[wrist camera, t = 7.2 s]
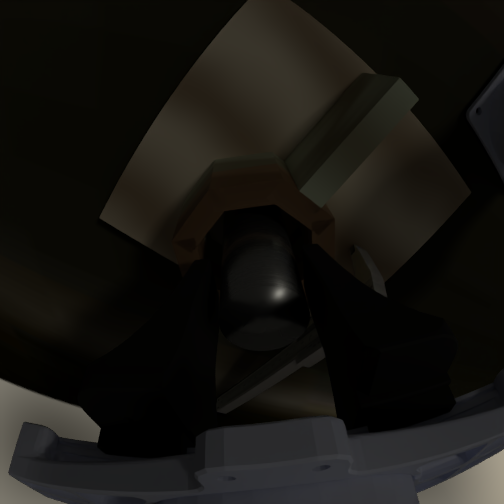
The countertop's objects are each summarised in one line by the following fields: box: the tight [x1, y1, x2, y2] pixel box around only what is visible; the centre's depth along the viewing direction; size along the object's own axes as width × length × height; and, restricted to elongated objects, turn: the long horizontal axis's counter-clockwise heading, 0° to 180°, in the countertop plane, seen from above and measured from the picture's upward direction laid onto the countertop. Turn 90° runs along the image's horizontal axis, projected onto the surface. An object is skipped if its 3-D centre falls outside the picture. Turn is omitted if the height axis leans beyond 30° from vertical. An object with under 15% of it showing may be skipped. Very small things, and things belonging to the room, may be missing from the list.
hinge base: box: [100, 0, 471, 317], centre depth 15 cm, size 15×17×5 cm
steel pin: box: [219, 204, 310, 351], centre depth 14 cm, size 3×3×8 cm
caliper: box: [216, 244, 387, 414], centre depth 21 cm, size 20×1×6 cm, turn 151°
